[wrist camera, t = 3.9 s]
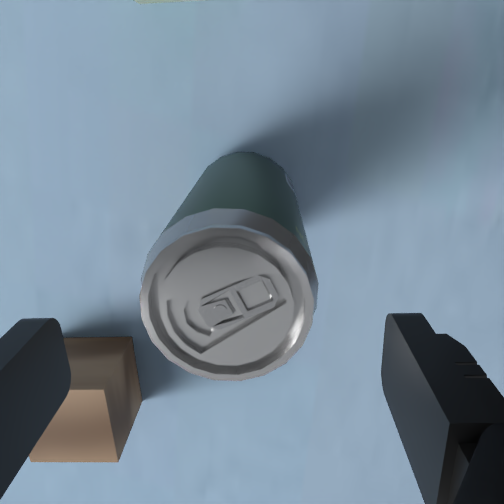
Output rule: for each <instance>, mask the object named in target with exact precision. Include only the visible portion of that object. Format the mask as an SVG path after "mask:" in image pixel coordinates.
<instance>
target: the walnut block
mask: <svg viewBox="0 0 504 504" xmlns="http://www.w3.org/2000/svg"><path fill="white" fill-rule="evenodd" d="M63 339H64V344H65V348H66V352H67V357H68V361H69V365H70V370H71V384H70V389H69V392H68V395H67V397H66V398H65V400H64V401H63V403H62V405H61V406H60V408H59V409H58V411H57V412H56V414H55V415H54V417H53V418H52V420H51V422H50V423H49V425H48V426H47V428H46V429H45V431H44V432H43V434H42V436H41V437H40V439H39V440H38V442H37V443H36V445H35V446H34V448H33V450H32V451H31V453H30V454H29V457H30V461H31V462H118V461H119V459H120V456H121V454H122V451H123V449H124V446H125V444H126V441H127V439H128V436H129V433H130V431H131V428H132V426H133V423H134V421H135V418H136V416H137V413H138V410H139V408H140V405H141V403H142V397H141V390H140V384H139V378H138V372H137V366H136V359H135V353H134V347H133V341H132V337H74V338H63Z"/></svg>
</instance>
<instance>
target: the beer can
mask: <svg viewBox="0 0 504 504" xmlns="http://www.w3.org/2000/svg"><path fill="white" fill-rule="evenodd" d="M141 284H142V288H141V291H140V295H139V297H140V307H141V318H142V321H143V324H144V326H145V328H146V330H147V332H148V334H149V337H150V339H151V341H152V342H153V343H154V345H155V346H156V347H157V348H158V349H159V350H160V351H161V352H162V353H163V354H164V355H165V357H166V358H167V359H168V360H170V361H171V362H173V363H174V364H176V365H178V366H179V367H181V368H183V369H184V370H186V371H187V372H189V373H192V374H195V375H198V376H202V377H205V378H208V379H212V380H223V381H242V380H246V379H251V378H255V377H259V376H263V375H266V374H267V373H269V372H271V371H273V370H275V369H276V368H278V367H280V366H282V365H284V364H285V363H287V361H288V360H289V359H290V358H291V357H292V356H293V355H294V354H295V353H296V352H297V351H298V350H299V349H300V348H301V347H302V345H303V343H304V341H305V339H306V337H307V335H308V332H309V330H310V328H311V326H312V320H313V314H314V312H315V310H316V305H317V293H318V280H317V276H316V273H315V269H314V265H313V261H312V257H311V253H310V249H309V245H308V242H307V238H306V234H305V230H304V226H303V222H302V218H301V214H300V211H299V207H298V203H297V199H296V195H295V192H294V188H293V184H292V181H291V180H290V178H289V177H288V175H287V174H286V172H285V171H284V169H283V168H282V167H281V166H279V165H278V164H277V163H275V162H274V161H273V160H271V159H270V158H268V157H265V156H262V155H260V154H257V153H254V152H236V153H232V154H229V155H226V156H223V157H220V158H219V159H218V160H216V161H215V162H213V163H212V164H211V165H209V166H208V167H207V168H206V170H205V171H204V173H203V174H202V176H201V177H200V178H199V180H198V181H197V183H196V184H195V186H194V187H193V189H192V190H191V191H190V193H189V194H188V196H187V197H186V199H185V200H184V202H183V203H182V205H181V206H180V208H179V209H178V210H177V212H176V213H175V215H174V216H173V218H172V219H171V221H170V222H169V224H168V225H167V226H166V228H165V229H164V231H163V232H162V234H161V235H160V237H159V238H158V240H157V241H156V243H155V244H154V245H153V247H152V248H151V250H150V251H149V253H148V254H147V258H146V262H145V266H144V269H143V273H142V277H141Z"/></svg>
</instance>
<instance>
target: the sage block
mask: <svg viewBox="0 0 504 504" xmlns="http://www.w3.org/2000/svg"><path fill="white" fill-rule="evenodd" d="M134 1H136V2H137V3H139V4H147V3H165V2H183V1H202V0H134Z"/></svg>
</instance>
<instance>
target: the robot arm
mask: <svg viewBox="0 0 504 504" xmlns="http://www.w3.org/2000/svg"><path fill="white" fill-rule="evenodd" d="M381 377H382V386H383V391H384V395H385V398H386V400H387V403H388V406H389V408H390V411H391V414H392V416H393V419H394V422H395V425H396V427H397V430H398V433H399V435H400V438H401V441H402V443H403V446H404V449H405V451H406V454H407V457H408V459H409V462H410V465H411V467H412V470H413V473H414V475H415V478H416V481H417V483H418V486H419V489H420V491H421V494H422V497H423V500H424V502H425V504H504V397H503V396H502V395H501V393H500V392H499V391H498V389H497V388H496V387H495V385H494V384H493V383H492V381H491V380H490V379H489V378H487V375H486V373H485V372H484V371H483V369H482V368H481V367H480V365H477V361H476V360H475V359H474V357H473V356H472V355H471V353H470V352H469V351H468V349H467V348H466V347H465V346H464V345H462V344H461V343H459V342H458V341H456V340H455V339H453V338H452V337H451V336H449V335H448V334H436V333H435V332H434V330H433V329H432V327H431V326H430V324H429V323H428V321H427V320H426V318H425V317H424V316H423V314H421V313H390V314H388V315H387V317H386V322H385V332H384V344H383V355H382V367H381ZM70 384H71V370H70V365H69V361H68V357H67V352H66V348H65V344H64V339H63V335H62V331H61V327H60V324H59V322H58V321H57V320H56V319H54V318H31V319H21V320H20V321H18V322H17V323H16V324H15V325H14V326H13V327H12V328H11V329H10V330H9V331H8V332H7V333H6V334H5V335H3V336H2V337H1V338H0V499H1V498H2V496H3V495H4V493H5V491H6V490H7V488H8V487H9V485H10V484H11V482H12V481H13V479H14V478H15V476H16V474H17V473H18V471H19V470H20V468H21V467H22V465H23V464H24V462H25V460H26V459H27V457H28V456H29V454H30V453H31V451H32V450H33V448H34V446H35V445H36V443H37V442H38V440H39V439H40V437H41V436H42V434H43V432H44V431H45V429H46V428H47V426H48V425H49V423H50V422H51V420H52V418H53V417H54V415H55V414H56V412H57V411H58V409H59V408H60V406H61V405H62V403H63V401H64V400H65V398H66V397H67V395H68V392H69V389H70Z"/></svg>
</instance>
